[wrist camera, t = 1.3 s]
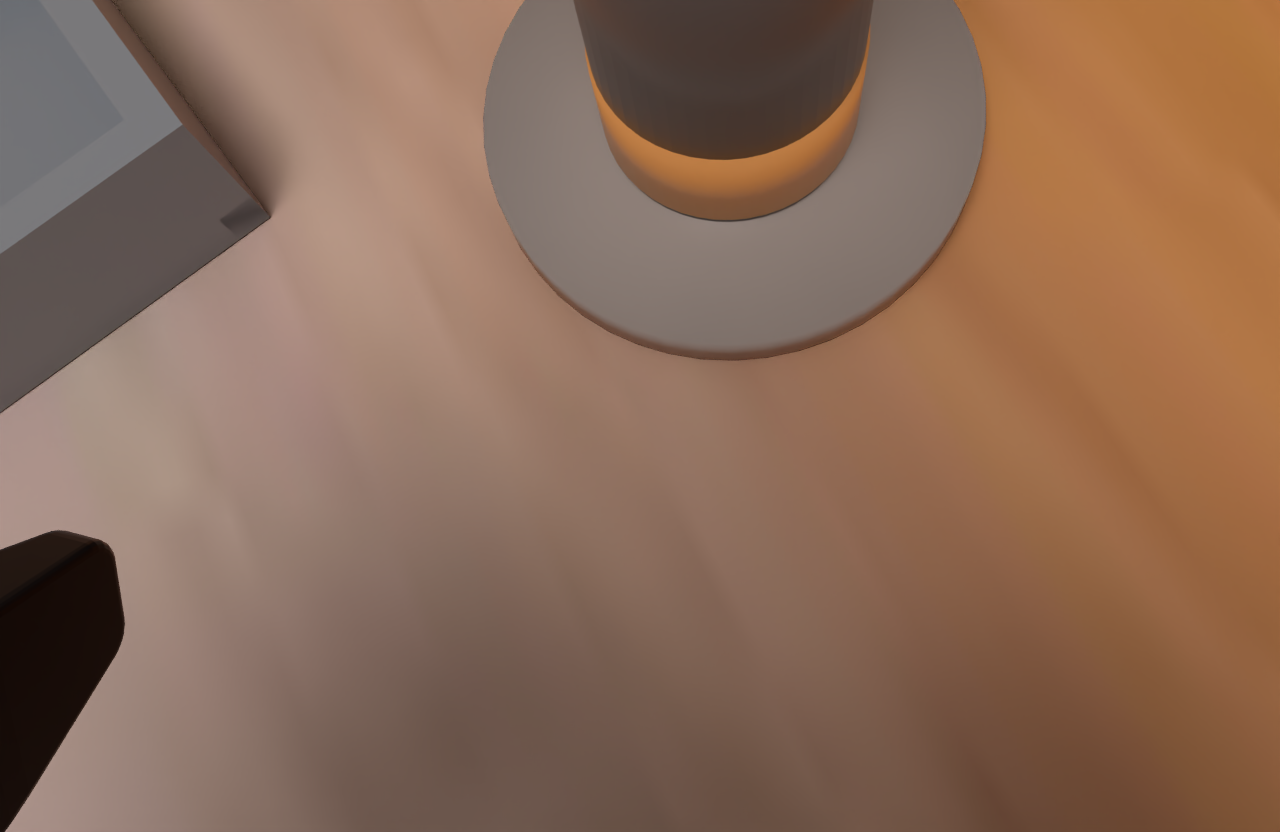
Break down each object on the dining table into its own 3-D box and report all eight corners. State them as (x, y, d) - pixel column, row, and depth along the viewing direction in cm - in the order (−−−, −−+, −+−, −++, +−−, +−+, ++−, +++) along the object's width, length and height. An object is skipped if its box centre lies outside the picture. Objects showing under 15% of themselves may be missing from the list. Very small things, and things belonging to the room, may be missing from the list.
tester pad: (688, 460, 23) (684, 448, 22) (403, 106, 26) (390, 81, 25) (1082, 157, 24) (1096, 132, 23) (767, -157, 27) (768, -191, 26)
